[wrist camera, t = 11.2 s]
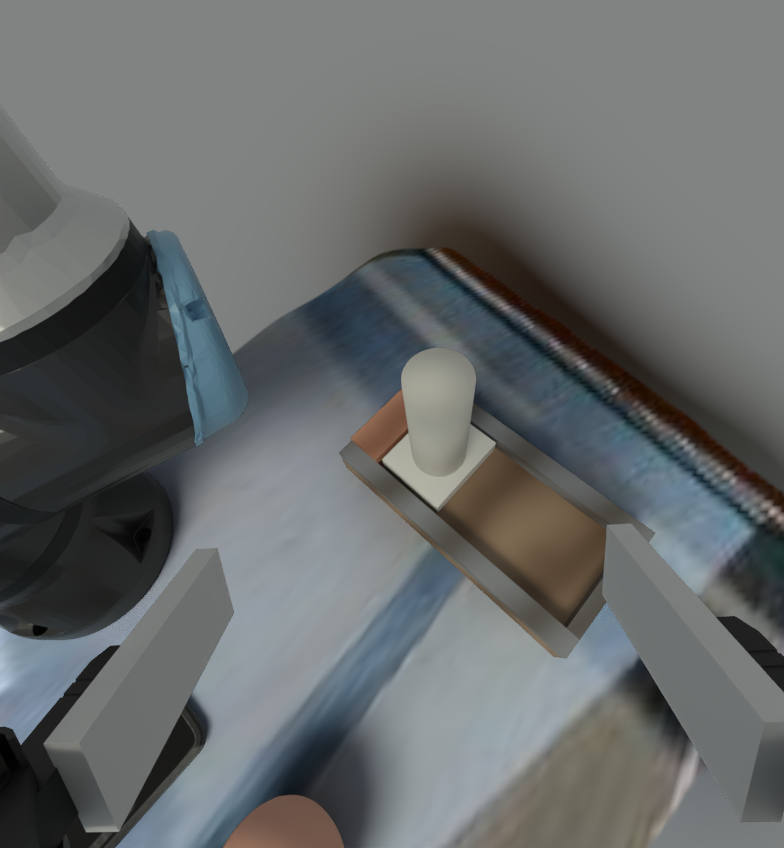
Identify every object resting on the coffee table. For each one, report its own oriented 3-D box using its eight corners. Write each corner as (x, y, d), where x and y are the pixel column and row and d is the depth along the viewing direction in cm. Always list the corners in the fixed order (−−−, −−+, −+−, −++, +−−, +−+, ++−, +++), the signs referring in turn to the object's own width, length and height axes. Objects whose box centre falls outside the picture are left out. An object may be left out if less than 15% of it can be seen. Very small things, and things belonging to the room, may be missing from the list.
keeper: (384, 466, 37) (359, 389, 26) (439, 409, 39) (439, 315, 28) (437, 512, 35) (436, 451, 23) (494, 450, 37) (517, 366, 25)
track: (347, 467, 40) (337, 450, 36) (427, 388, 43) (426, 365, 39) (553, 656, 31) (568, 658, 28) (635, 542, 34) (658, 531, 31)
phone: (-33, 839, 29) (149, 655, 33) (-18, 833, 30) (157, 655, 34) (14, 959, 26) (207, 742, 30) (30, 947, 27) (215, 738, 31)
